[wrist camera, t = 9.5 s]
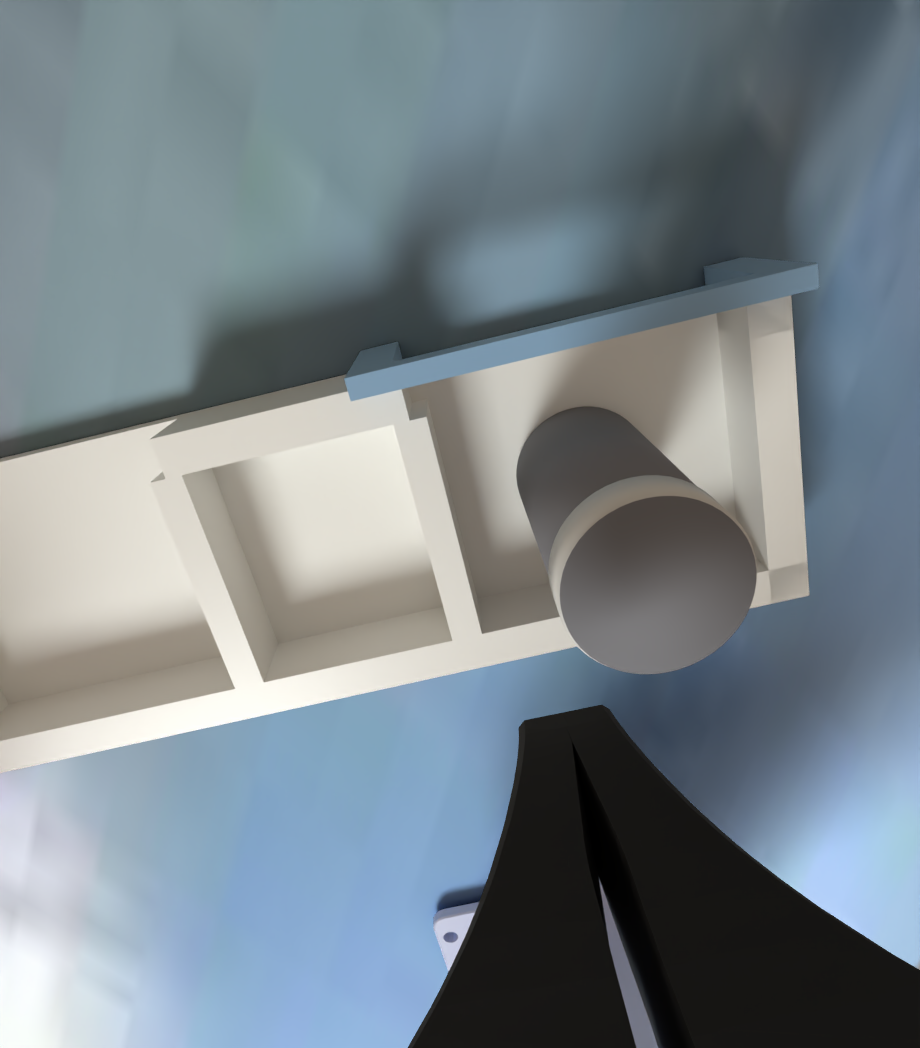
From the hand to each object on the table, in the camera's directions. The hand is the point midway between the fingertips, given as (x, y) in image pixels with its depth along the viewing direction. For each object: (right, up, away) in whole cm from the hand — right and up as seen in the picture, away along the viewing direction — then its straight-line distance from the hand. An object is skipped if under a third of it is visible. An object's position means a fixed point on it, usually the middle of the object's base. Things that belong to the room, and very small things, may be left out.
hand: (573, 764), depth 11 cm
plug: (+2, +5, +8) cm, 10 cm away
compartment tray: (-5, +4, +9) cm, 11 cm away
